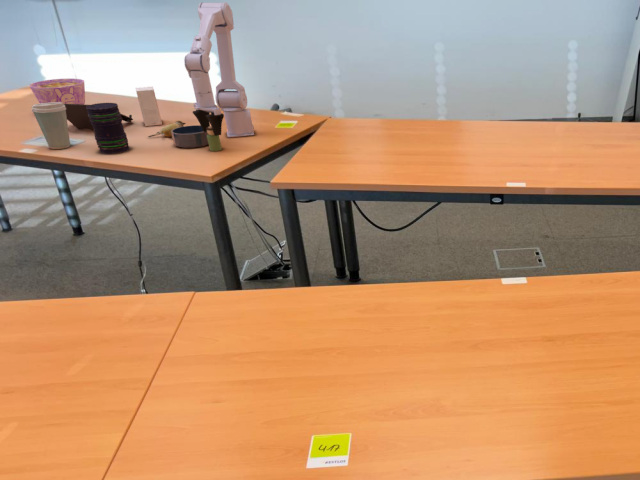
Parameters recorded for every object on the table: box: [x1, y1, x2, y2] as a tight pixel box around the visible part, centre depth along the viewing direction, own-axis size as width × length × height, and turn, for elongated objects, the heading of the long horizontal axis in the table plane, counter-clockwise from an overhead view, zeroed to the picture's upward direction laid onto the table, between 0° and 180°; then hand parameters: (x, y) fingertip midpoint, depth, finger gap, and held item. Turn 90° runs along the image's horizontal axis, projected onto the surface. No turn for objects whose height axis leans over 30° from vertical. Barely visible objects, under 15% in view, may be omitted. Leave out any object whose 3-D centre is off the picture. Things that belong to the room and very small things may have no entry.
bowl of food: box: [29, 78, 86, 105], centre depth 300 cm, size 20×20×12 cm
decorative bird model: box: [147, 120, 186, 140], centre depth 270 cm, size 4×13×10 cm
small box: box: [135, 86, 163, 127], centre depth 284 cm, size 8×6×13 cm
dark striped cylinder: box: [86, 102, 131, 155], centre depth 251 cm, size 10×10×15 cm
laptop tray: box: [64, 104, 134, 131], centre depth 279 cm, size 23×23×9 cm
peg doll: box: [206, 125, 223, 152], centre depth 253 cm, size 4×4×8 cm
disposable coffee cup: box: [30, 102, 71, 150], centre depth 254 cm, size 11×11×15 cm
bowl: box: [171, 124, 209, 149], centre depth 261 cm, size 13×13×5 cm
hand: (212, 133), depth 253 cm, fingers open, 7 cm apart
